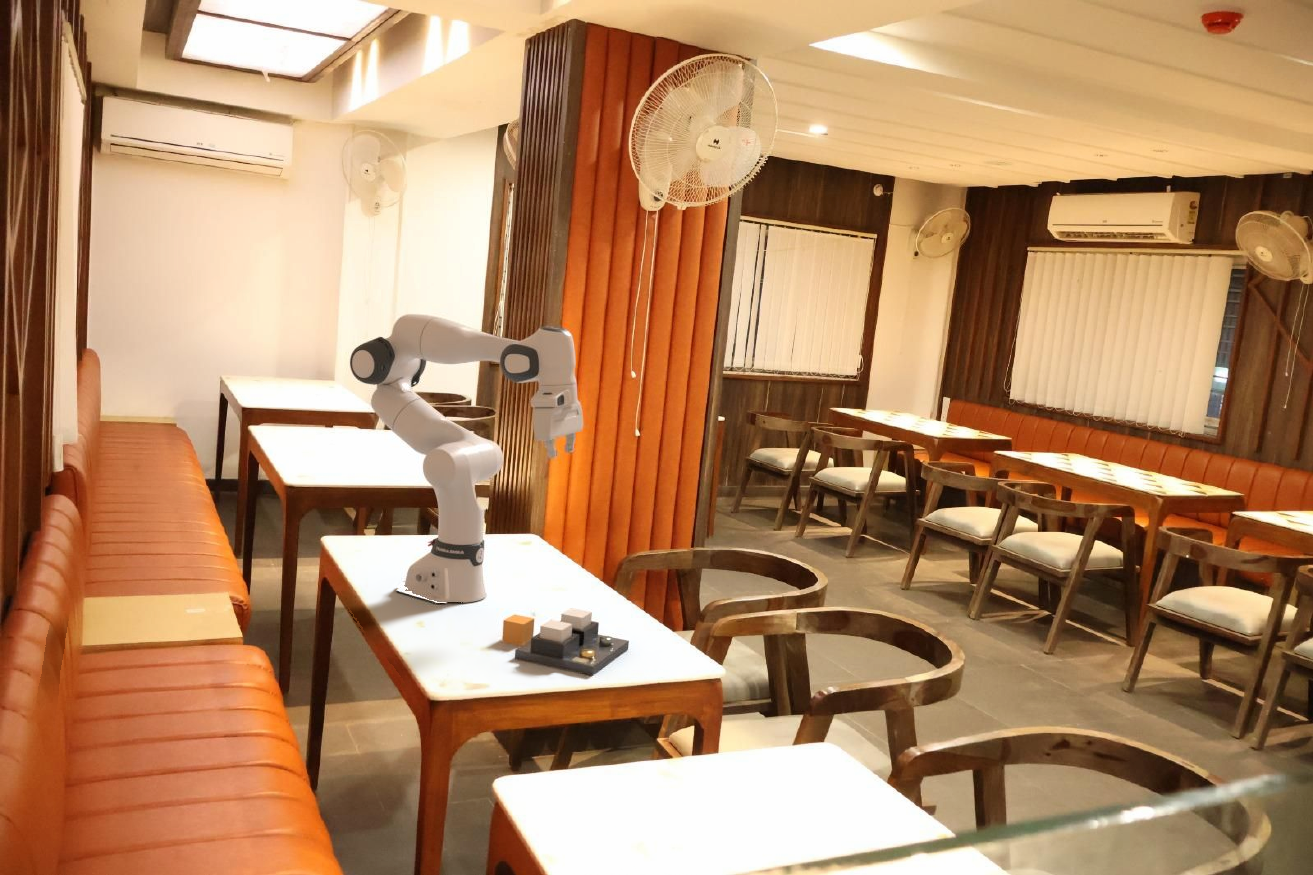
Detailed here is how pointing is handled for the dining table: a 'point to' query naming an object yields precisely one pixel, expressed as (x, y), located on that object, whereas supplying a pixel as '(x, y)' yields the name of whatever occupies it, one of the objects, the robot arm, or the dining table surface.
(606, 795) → the dining table surface
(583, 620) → the block
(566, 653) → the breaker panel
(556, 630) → the block
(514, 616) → the block
